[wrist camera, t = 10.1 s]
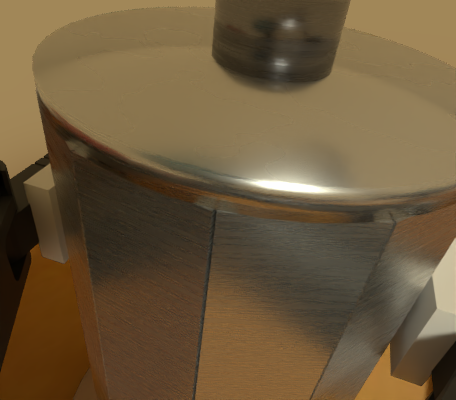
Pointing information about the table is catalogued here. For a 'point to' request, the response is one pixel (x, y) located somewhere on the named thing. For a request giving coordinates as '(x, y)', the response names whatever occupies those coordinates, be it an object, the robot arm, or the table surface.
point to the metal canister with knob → (245, 194)
